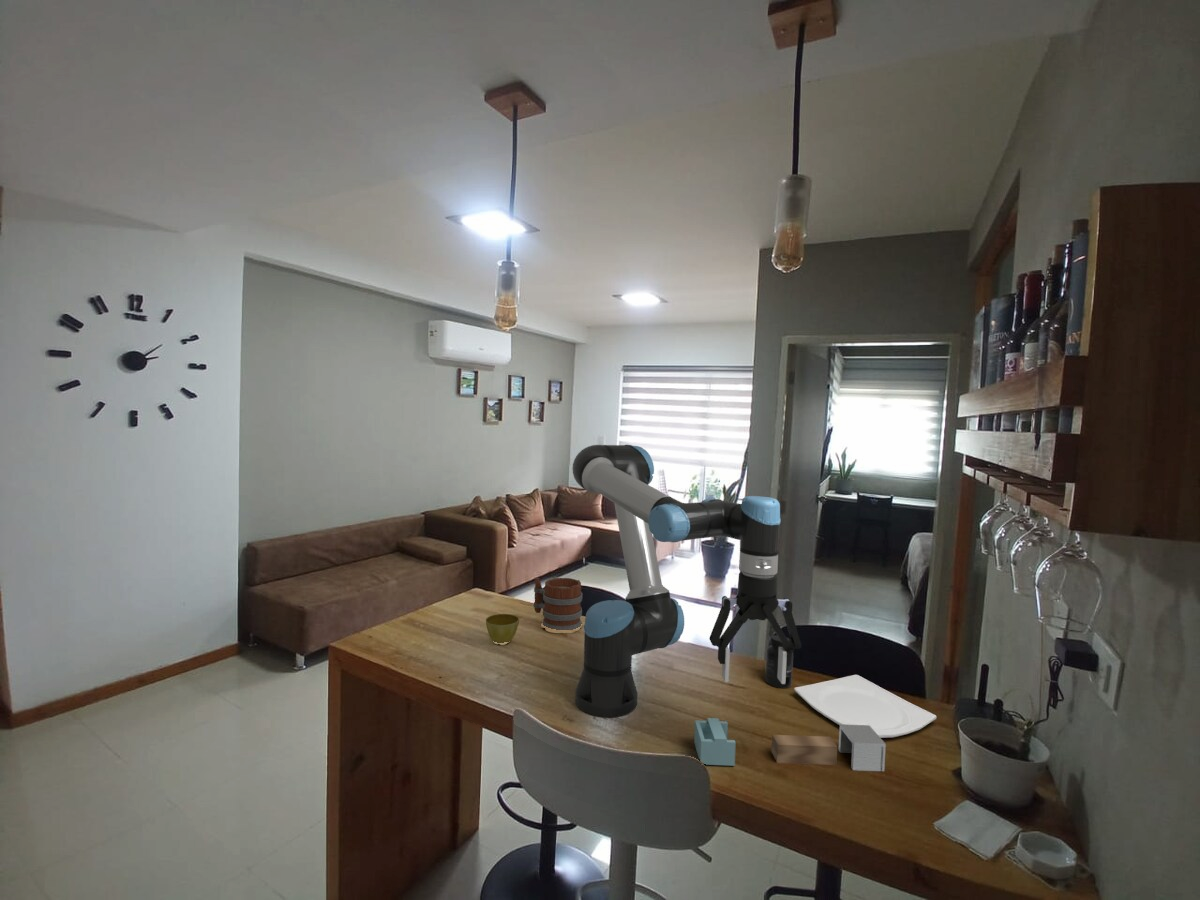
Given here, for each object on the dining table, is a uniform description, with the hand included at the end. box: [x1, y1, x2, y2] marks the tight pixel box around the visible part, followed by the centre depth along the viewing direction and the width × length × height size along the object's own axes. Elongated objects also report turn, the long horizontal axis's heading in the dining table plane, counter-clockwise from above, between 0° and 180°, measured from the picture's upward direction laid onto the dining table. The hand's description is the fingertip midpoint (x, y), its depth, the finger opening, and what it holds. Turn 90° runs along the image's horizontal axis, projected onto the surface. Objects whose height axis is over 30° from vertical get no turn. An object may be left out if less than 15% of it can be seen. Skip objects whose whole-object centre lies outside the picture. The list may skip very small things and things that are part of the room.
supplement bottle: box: [764, 635, 794, 689], centre depth 142 cm, size 7×7×12 cm
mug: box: [533, 577, 583, 630], centre depth 178 cm, size 14×19×15 cm
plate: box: [793, 674, 938, 739], centre depth 129 cm, size 24×24×3 cm
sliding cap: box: [693, 717, 737, 767], centre depth 109 cm, size 7×8×5 cm
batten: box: [771, 734, 838, 766], centre depth 109 cm, size 12×4×4 cm, turn 90°
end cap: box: [837, 724, 887, 772], centre depth 109 cm, size 6×7×6 cm
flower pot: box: [485, 613, 520, 643], centre depth 163 cm, size 10×10×7 cm
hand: (753, 679), depth 109 cm, fingers open, 11 cm apart
